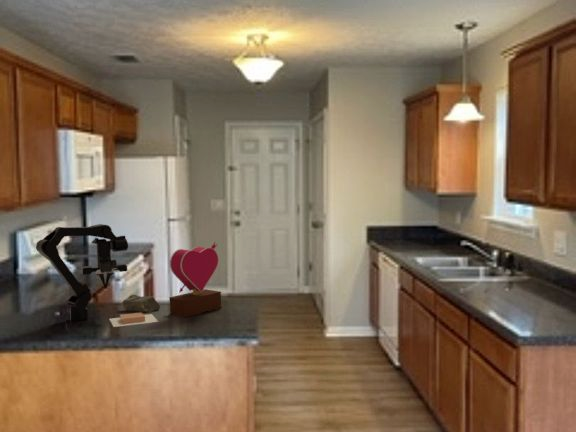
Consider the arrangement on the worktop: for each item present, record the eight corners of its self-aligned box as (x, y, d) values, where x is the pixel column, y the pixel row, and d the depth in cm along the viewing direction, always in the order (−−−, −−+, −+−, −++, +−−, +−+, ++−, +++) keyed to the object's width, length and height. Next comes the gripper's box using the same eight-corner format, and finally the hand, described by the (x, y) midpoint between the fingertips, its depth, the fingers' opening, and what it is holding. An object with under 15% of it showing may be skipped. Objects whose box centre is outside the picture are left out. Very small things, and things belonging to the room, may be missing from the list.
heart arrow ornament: (210, 304, 284) (208, 240, 282) (226, 306, 278) (224, 242, 275) (169, 314, 265) (167, 246, 263) (185, 317, 259) (182, 248, 256)
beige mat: (113, 328, 243) (113, 326, 243) (109, 319, 257) (109, 318, 257) (158, 322, 251) (158, 321, 250) (151, 315, 264) (151, 314, 264)
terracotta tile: (122, 318, 248) (144, 316, 252) (120, 314, 255) (141, 312, 259) (122, 323, 248) (145, 321, 252) (120, 319, 256) (141, 317, 259)
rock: (117, 303, 268) (126, 293, 277) (120, 317, 270) (128, 306, 279) (154, 303, 265) (161, 292, 274) (156, 316, 267) (164, 306, 276)
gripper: (82, 256, 252) (84, 293, 253) (128, 253, 260) (130, 289, 261) (80, 253, 262) (82, 289, 264) (124, 250, 270) (126, 285, 271)
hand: (105, 288), depth 265 cm, fingers closed
